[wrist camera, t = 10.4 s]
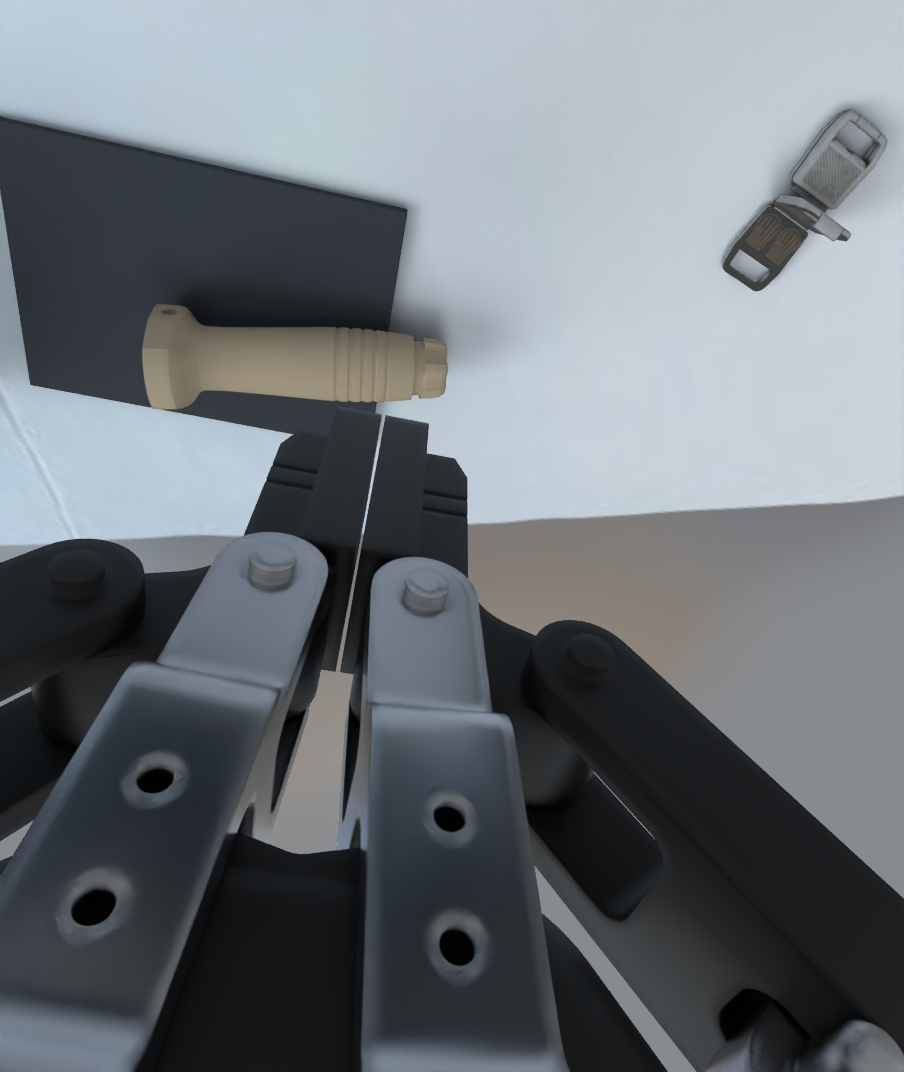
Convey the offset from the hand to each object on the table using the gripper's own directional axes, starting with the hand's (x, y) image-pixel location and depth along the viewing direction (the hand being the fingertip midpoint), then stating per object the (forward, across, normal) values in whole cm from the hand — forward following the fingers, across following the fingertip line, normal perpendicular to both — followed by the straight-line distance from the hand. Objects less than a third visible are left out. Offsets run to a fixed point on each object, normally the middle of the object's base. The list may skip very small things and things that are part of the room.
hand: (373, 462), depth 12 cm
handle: (+27, -3, +10) cm, 29 cm away
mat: (+29, +11, +10) cm, 32 cm away
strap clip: (+29, -18, -1) cm, 35 cm away
